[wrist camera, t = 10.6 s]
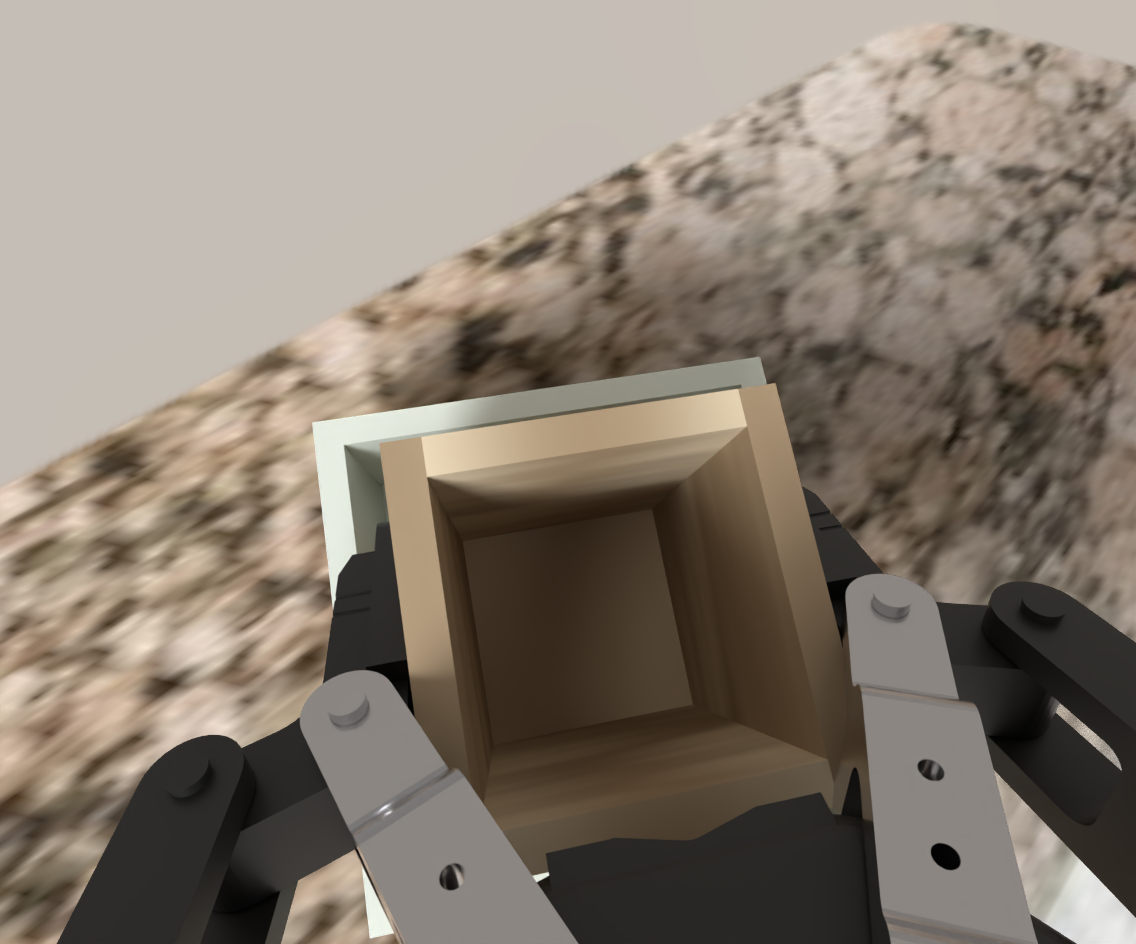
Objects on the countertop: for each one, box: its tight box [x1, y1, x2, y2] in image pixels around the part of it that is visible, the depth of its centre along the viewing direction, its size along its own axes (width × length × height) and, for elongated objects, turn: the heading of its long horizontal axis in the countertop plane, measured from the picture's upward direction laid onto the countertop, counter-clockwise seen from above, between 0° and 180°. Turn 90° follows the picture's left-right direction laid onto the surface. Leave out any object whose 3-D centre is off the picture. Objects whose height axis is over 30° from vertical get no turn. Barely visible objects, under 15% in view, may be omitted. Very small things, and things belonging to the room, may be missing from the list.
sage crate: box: [312, 357, 767, 938], centre depth 17 cm, size 10×10×5 cm
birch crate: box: [379, 383, 847, 876], centre depth 14 cm, size 6×6×8 cm
